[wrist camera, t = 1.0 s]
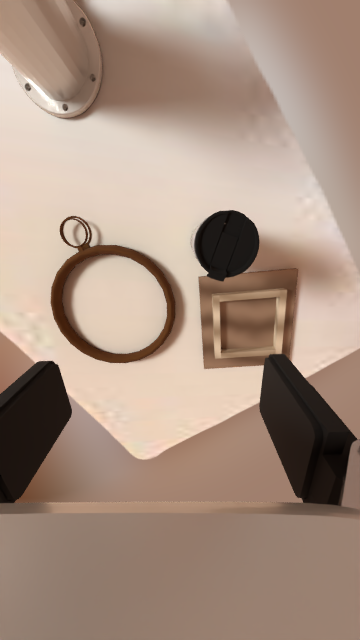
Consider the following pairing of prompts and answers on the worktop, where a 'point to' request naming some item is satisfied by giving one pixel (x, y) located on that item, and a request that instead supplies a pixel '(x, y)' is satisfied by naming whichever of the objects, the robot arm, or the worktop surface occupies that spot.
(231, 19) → the worktop surface
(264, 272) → the walnut coaster board
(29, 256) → the worktop surface
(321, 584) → the robot arm
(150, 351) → the decorative ring
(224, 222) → the travel mug
